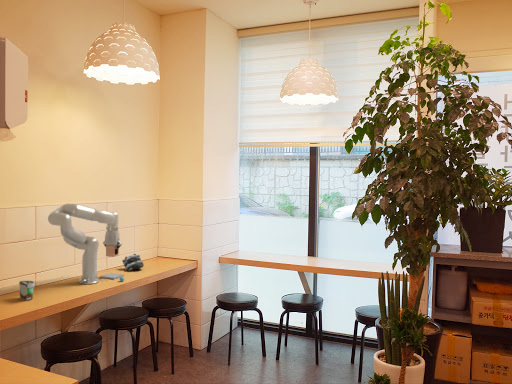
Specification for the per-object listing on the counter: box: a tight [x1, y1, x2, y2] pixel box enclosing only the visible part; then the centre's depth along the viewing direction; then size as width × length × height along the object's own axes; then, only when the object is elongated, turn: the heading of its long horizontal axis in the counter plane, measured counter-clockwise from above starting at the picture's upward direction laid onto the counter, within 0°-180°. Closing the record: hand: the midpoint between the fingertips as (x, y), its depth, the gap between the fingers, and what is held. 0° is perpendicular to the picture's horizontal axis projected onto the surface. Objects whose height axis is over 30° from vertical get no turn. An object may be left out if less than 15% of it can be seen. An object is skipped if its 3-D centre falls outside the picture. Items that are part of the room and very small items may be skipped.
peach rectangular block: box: [105, 245, 120, 258], centre depth 340 cm, size 6×6×8 cm
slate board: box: [99, 272, 125, 280], centre depth 341 cm, size 12×12×1 cm
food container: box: [18, 280, 36, 302], centre depth 279 cm, size 12×6×10 cm, turn 48°
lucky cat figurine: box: [122, 253, 145, 272], centre depth 368 cm, size 15×12×14 cm
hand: (112, 253), depth 340 cm, fingers closed on peach rectangular block, 6 cm apart
